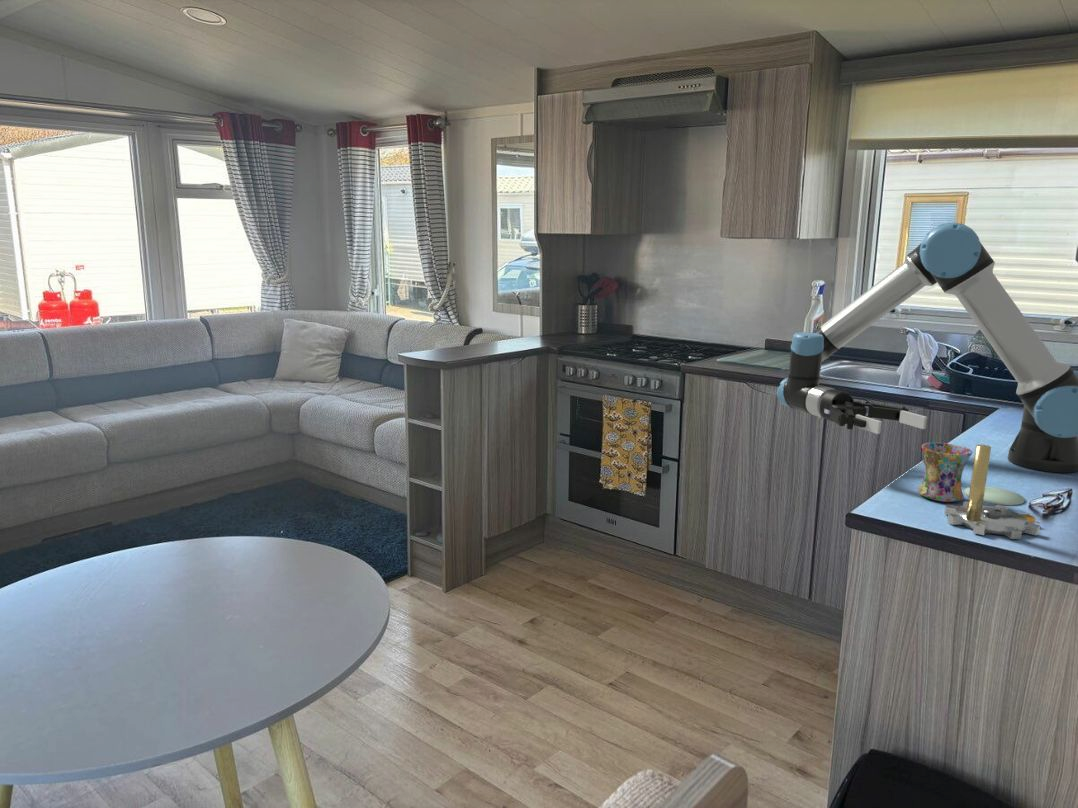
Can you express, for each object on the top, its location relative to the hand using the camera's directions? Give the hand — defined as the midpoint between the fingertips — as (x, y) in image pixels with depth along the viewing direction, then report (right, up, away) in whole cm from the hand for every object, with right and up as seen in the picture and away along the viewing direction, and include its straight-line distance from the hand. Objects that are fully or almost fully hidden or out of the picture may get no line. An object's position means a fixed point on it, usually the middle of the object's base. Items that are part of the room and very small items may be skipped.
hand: (902, 425), depth 173 cm
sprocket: (+6, -18, -22) cm, 29 cm away
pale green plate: (+16, -15, -6) cm, 23 cm away
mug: (+4, -15, -6) cm, 16 cm away
